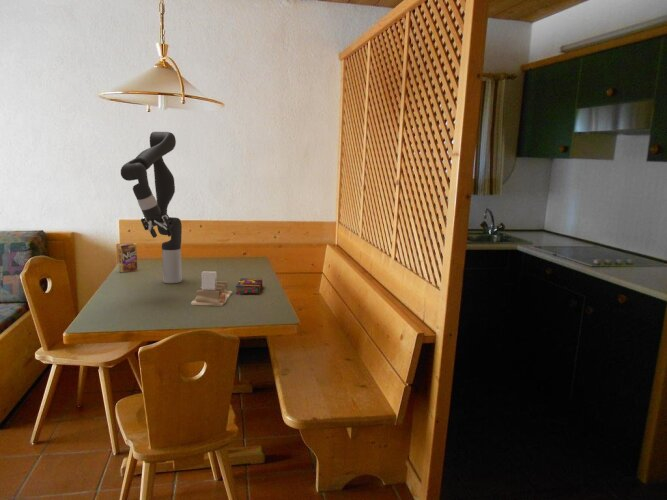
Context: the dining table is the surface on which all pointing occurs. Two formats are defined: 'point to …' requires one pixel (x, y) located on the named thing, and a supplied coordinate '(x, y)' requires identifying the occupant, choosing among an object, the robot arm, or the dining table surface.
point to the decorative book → (249, 286)
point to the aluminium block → (209, 281)
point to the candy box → (127, 257)
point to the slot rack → (213, 296)
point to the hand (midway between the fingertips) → (162, 236)
